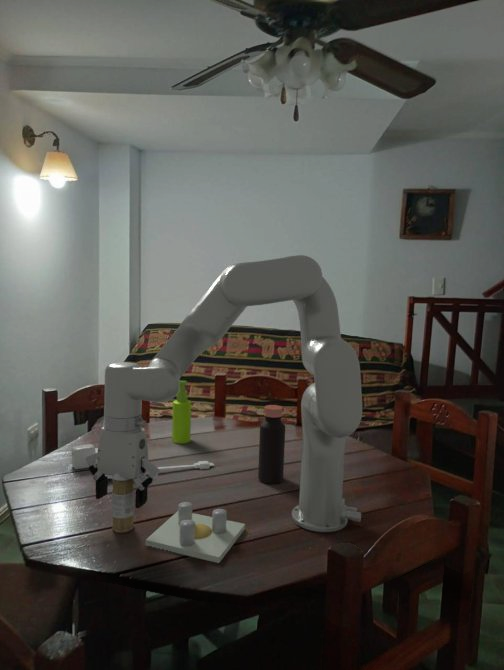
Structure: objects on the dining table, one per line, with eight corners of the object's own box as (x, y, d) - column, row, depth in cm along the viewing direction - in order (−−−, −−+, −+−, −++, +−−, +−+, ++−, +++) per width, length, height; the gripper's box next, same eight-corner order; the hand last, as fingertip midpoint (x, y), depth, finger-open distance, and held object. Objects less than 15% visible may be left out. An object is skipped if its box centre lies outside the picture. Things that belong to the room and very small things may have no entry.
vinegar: (287, 478, 136) (290, 406, 134) (274, 486, 131) (278, 412, 128) (266, 472, 140) (269, 402, 138) (253, 480, 134) (255, 407, 132)
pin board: (244, 529, 108) (245, 506, 107) (218, 563, 95) (219, 537, 94) (178, 515, 113) (178, 493, 113) (145, 545, 100) (145, 520, 100)
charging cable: (215, 473, 141) (216, 461, 141) (96, 483, 129) (96, 470, 128) (210, 466, 146) (210, 455, 145) (94, 475, 133) (94, 463, 133)
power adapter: (110, 459, 146) (110, 439, 145) (115, 464, 142) (115, 444, 141) (70, 465, 140) (70, 445, 140) (74, 471, 136) (74, 450, 136)
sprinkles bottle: (128, 521, 110) (128, 462, 108) (137, 529, 106) (138, 468, 105) (108, 527, 107) (108, 466, 105) (117, 536, 103) (117, 473, 102)
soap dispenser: (167, 438, 166) (168, 379, 164) (188, 437, 168) (189, 378, 166) (170, 444, 160) (171, 383, 158) (191, 442, 163) (193, 382, 160)
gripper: (168, 423, 105) (165, 501, 106) (98, 412, 110) (97, 486, 112) (149, 433, 98) (147, 517, 99) (76, 420, 103) (75, 500, 105)
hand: (120, 501), depth 106 cm, fingers open, 9 cm apart
